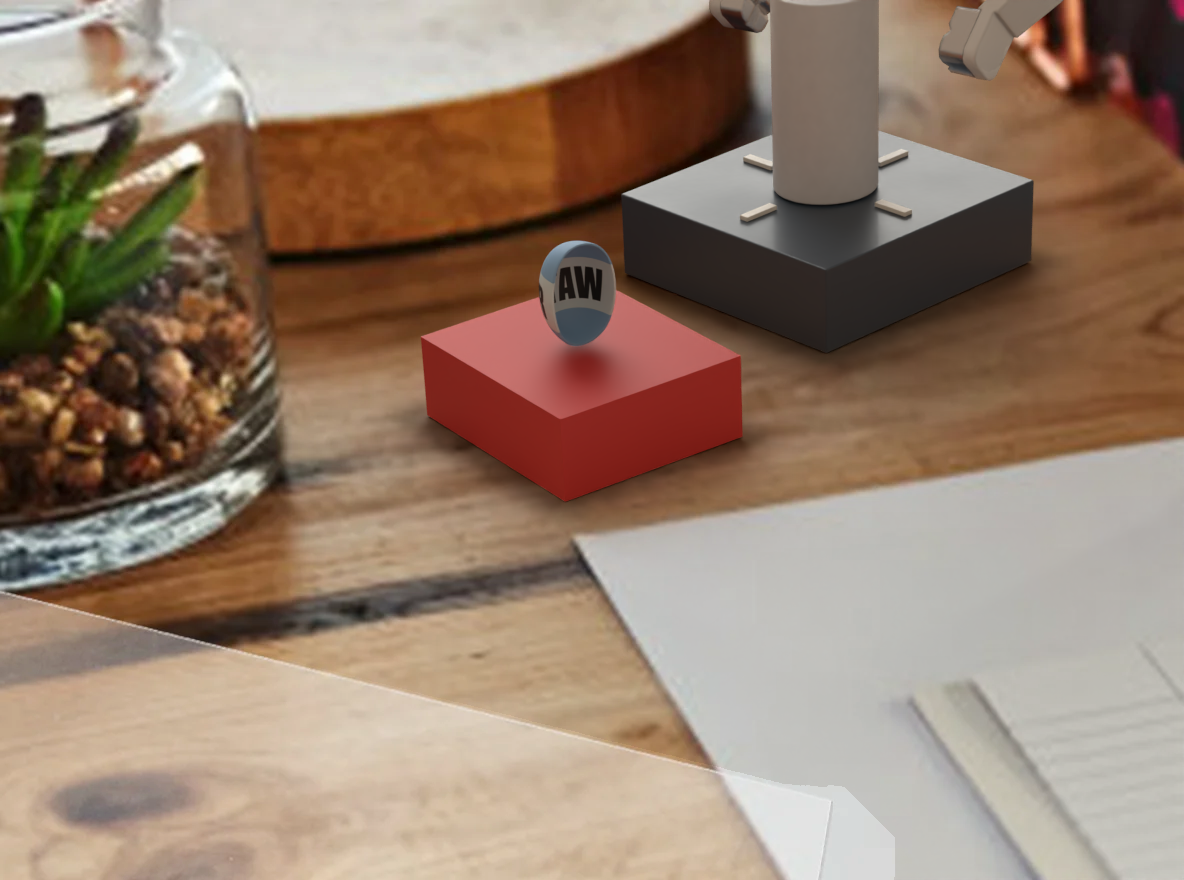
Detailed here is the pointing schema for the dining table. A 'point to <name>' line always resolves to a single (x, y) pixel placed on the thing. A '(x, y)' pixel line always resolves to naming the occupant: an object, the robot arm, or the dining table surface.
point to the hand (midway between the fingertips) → (845, 45)
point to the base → (828, 240)
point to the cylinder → (825, 99)
